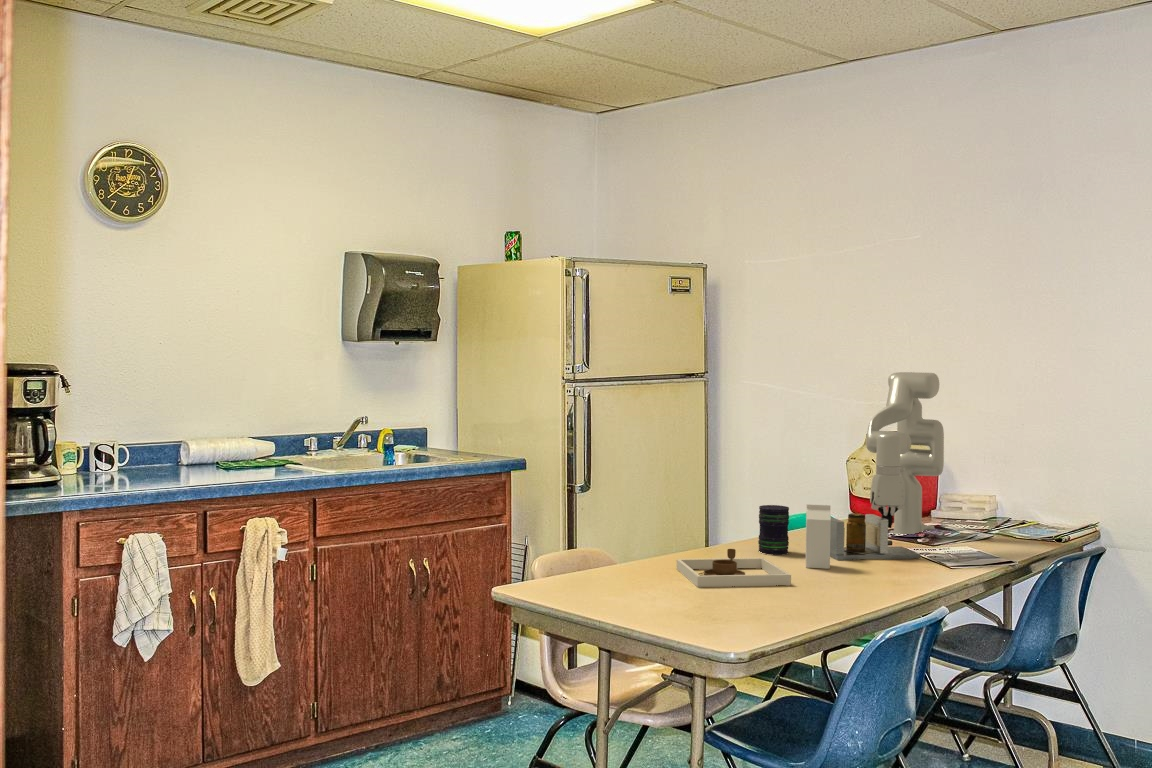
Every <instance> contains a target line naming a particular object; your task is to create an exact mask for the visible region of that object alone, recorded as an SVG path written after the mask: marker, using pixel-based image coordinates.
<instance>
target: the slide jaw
mask: <svg viewBox="0 0 1152 768" xmlns="http://www.w3.org/2000/svg"><path fill="white" fill-rule="evenodd" d="M864 515H865V523H866V542H865V543H866V544H865V547H867V548H869V549H871V550H874V551H876V552H878V553H888V547H889V546H893V541H892V540H890V539H889V528H888V519H885V518H882V516H878V515H876V514H873V513H866V514H864Z"/></svg>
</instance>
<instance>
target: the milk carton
mask: <svg viewBox="0 0 1152 768" xmlns="http://www.w3.org/2000/svg"><path fill="white" fill-rule="evenodd" d="M805 511H806V514H805V520H806V521H805V568H808V569H824V570H825V569H826V570H827V569H828V570H829V569H831V564H830V563H831V557H830V526H831V517H832V516H831V515H832V514H831V505H830V504H829V505H827V504H806V510H805Z"/></svg>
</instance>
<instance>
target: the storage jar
mask: <svg viewBox="0 0 1152 768" xmlns="http://www.w3.org/2000/svg"><path fill="white" fill-rule="evenodd" d="M758 507H759V508H758V509H759V511H758V523H759V535H758V541H757V542H758V552H759V551H760V552H762V553H766V554H765V555H767V554H773V555H772V556H783V555H782V554H785V555H788V554H789V544H790V542H789V539H790V538H789V524H790V520H789V519H790V512H789V510H790V508H789V506H785V505H777V504H767V505H765V504H763V505H760V506H758ZM762 553H761V554H762ZM787 553H788V554H787Z"/></svg>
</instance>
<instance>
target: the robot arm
mask: <svg viewBox="0 0 1152 768" xmlns="http://www.w3.org/2000/svg"><path fill="white" fill-rule="evenodd" d="M887 383H888V394H887V398H886V406H885V407H884V408H882V409H880V410H878V412H877V413H876V414H875V415H874V416H873V417H872V418H871V419H870V421H869V423H868V427H867V431H866V438H865V446H866V447H865V448H866V449H867V450H868V452H869V453H872V454H876V457H875V458H876V467H875V469H876V470H875V474H873V476H872V480H871V485H870V493H869V494H870V497H869V501H870V502H869V503H870V504H871V507H870V508H871V509H872V510H874V511H878V513H880V515H881V517H882V518H885V519H888V529H891V530H889V534H890V533H894V534H899V533H900V534H915V533H919V532H922V531H924V532H926V531H928V532H929V531H932V532H933V531H935V529H936V528H935V526H934V525H933V524H932V525H930V524H929V525H928V524H925V523H922V521H923V518H922V517H923V513H922V512H923V487H922V485H921V483H920V481H919V480H918V479H917V477H916V476H921V477H922V476H923V477H924V476H925V477H938V476H940V475H941V474H943V471H944V467H945V466H944V464H945V463H944V459H945V458H944V456H945V455H944V452H945V451H944V450H945V445H944V443H945V431H944V426H943V424H942V423H941V421H939V420H937V419H925V418H923V405H922V403H921V401H920V400H919V399H923V400H924V399H925V400H928V399H933V398H934V397H936V396H937V395H938V392H939V389H940V378H939V376H938V374H937V373H934V372H915V371H910V372H908V371H904V372H903V371H901V372H898V371H897V372H893V373H891V374H890V375H889V376H888V380H887ZM896 423H897V424H896ZM893 424H896V428H897V429H896V431H891V430H881V429H883V428H884V427H887V426H890V425H893ZM912 446H922V447H923V446H927V447H928V448H929V449H925V448H924V449H920V448H912ZM892 526H893V529H892Z"/></svg>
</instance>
